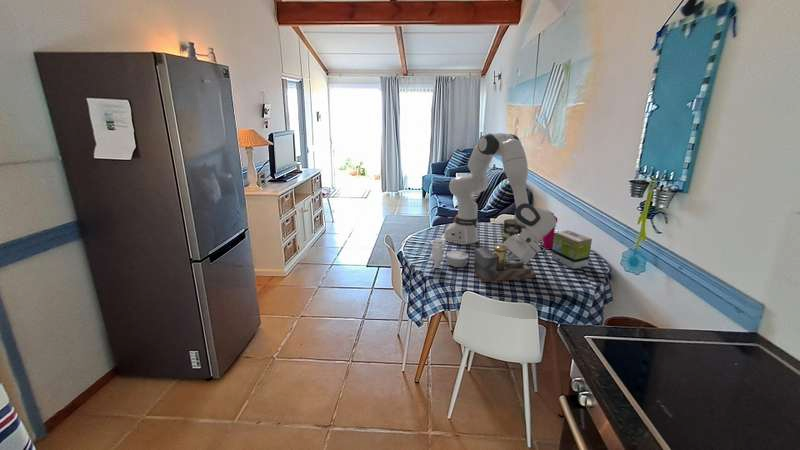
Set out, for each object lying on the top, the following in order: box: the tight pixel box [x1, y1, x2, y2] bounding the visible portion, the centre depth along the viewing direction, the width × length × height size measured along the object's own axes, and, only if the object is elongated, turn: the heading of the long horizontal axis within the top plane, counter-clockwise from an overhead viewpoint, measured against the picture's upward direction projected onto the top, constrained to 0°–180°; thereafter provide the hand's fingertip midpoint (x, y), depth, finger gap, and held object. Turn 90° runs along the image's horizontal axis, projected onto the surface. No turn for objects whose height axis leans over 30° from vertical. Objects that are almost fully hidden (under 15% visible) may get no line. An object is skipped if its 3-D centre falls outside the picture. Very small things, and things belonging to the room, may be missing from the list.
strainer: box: [430, 238, 446, 268], centre depth 182 cm, size 7×7×15 cm
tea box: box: [551, 229, 593, 270], centre depth 188 cm, size 15×10×15 cm, turn 23°
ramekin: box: [445, 250, 470, 268], centre depth 188 cm, size 11×11×5 cm
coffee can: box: [501, 218, 523, 245], centre depth 213 cm, size 10×10×14 cm
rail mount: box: [473, 247, 537, 283], centre depth 174 cm, size 26×12×12 cm, turn 99°
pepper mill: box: [541, 212, 558, 250], centre depth 208 cm, size 7×7×20 cm
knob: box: [493, 244, 508, 271], centre depth 173 cm, size 6×6×12 cm
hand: (505, 260), depth 174 cm, fingers closed, pressing on knob
